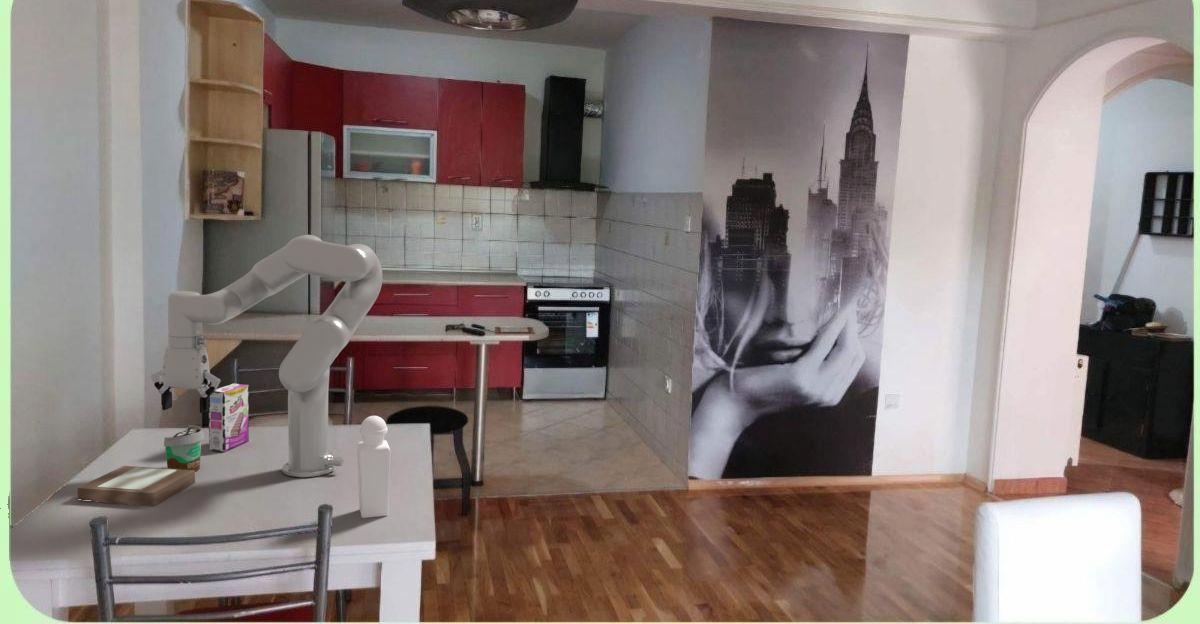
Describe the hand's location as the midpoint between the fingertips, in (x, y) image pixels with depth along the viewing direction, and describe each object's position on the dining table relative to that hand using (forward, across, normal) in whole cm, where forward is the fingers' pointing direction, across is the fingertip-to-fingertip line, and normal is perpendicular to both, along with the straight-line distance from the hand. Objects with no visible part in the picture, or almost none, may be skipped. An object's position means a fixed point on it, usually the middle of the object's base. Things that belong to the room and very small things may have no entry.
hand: (185, 410), depth 211 cm
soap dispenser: (+14, -55, +19) cm, 60 cm away
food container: (+16, -1, 0) cm, 16 cm away
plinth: (+16, +2, +16) cm, 22 cm away
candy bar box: (+16, 0, -21) cm, 26 cm away
